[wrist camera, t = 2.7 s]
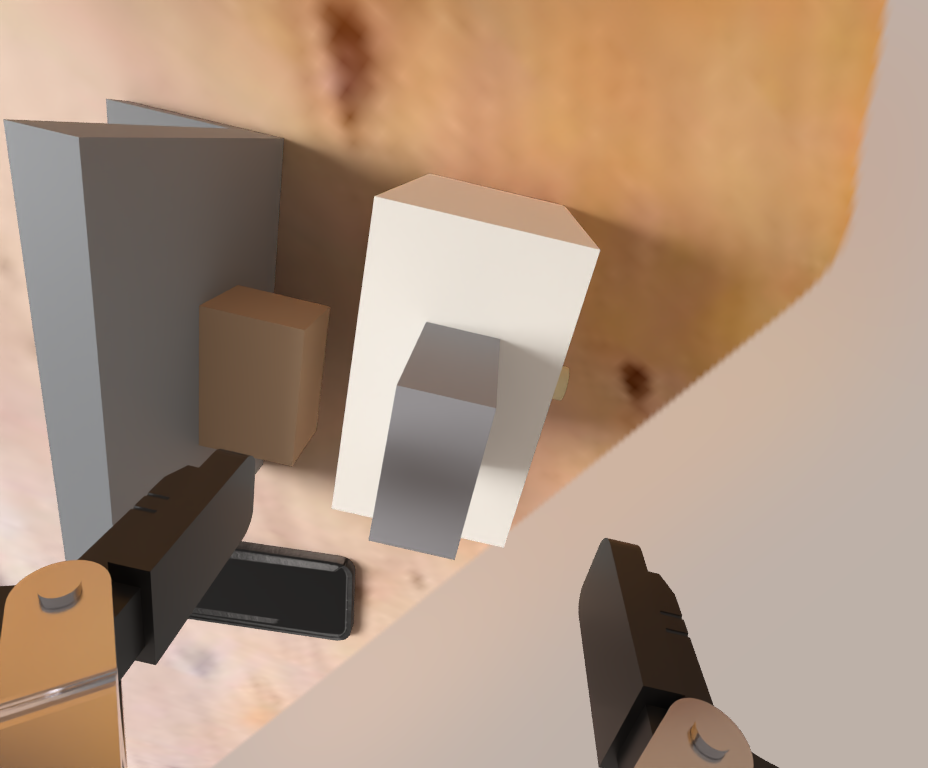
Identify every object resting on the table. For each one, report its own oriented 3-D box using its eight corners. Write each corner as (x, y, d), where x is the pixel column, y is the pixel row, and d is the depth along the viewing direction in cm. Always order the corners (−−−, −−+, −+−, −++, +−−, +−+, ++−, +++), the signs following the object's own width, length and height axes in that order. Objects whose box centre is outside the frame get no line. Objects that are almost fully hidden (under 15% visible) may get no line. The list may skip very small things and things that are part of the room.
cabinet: (392, 383, 32) (282, 609, 17) (429, 173, 27) (319, 218, 11) (522, 413, 32) (532, 665, 17) (583, 209, 27) (679, 303, 12)
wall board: (143, 436, 35) (-65, 605, 22) (126, 100, 27) (-225, 65, 14) (329, 479, 35) (227, 670, 23) (371, 159, 27) (246, 177, 14)
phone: (144, 535, 38) (352, 565, 37) (153, 524, 39) (357, 554, 38) (158, 615, 41) (350, 643, 41) (167, 603, 42) (354, 631, 42)
